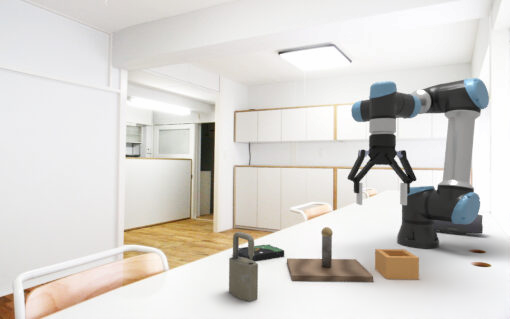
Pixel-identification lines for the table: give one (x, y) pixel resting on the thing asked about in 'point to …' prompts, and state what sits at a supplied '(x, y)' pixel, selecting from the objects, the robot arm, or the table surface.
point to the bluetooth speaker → (460, 227)
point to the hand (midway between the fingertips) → (381, 204)
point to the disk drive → (262, 252)
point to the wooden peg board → (328, 266)
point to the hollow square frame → (396, 264)
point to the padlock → (243, 270)
